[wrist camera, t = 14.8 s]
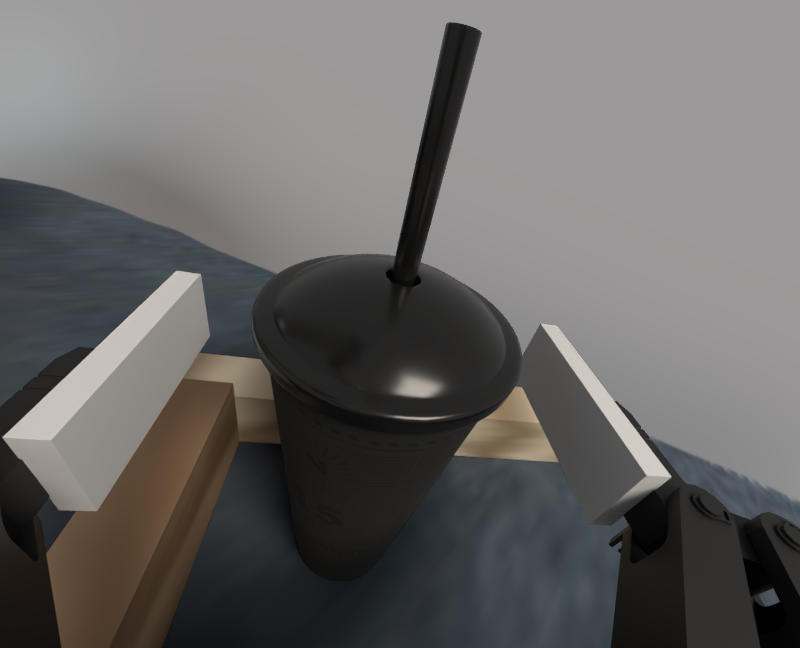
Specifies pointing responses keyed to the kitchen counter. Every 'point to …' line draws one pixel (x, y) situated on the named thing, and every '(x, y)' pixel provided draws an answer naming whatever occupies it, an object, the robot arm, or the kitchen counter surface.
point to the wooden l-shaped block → (196, 501)
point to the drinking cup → (381, 363)
